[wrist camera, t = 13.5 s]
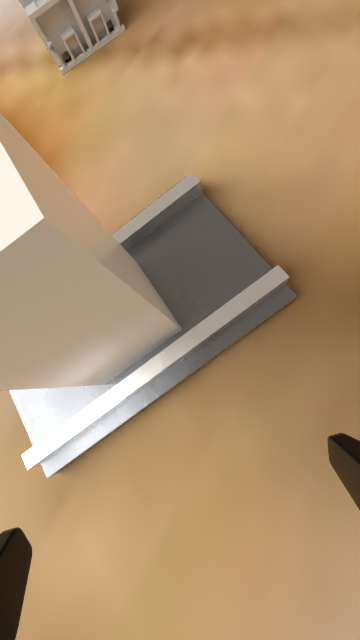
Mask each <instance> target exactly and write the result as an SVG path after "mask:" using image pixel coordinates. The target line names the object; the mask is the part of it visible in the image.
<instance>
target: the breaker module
mask: <svg viewBox="0 0 360 640" xmlns="http://www.w3.org/2000/svg"><path fill="white" fill-rule="evenodd" d="M181 330H182V328H181V327H180V325H179V324H178V322H177V321H176V319H175V318H174V316H173V315H172V313H171V312H170V311H169V309H168V308H167V306H166V305H165V303H164V302H163V300H162V299H161V297H160V296H159V294H158V293H157V291H156V290H155V288H154V287H153V285H152V284H151V282H150V281H149V279H148V278H147V277H146V275H145V274H144V272H143V271H142V269H141V268H140V266H139V265H138V263H137V262H136V261H135V260H134V259H133V258H132V257H131V256H130V255H129V253H128V252H127V251H126V250H125V249H124V248H123V247H122V246H121V245H120V244H119V242H118V241H117V240H116V239H115V238H114V237H113V236H112V235H111V234H110V233H109V231H108V230H107V229H106V228H105V227H104V226H103V225H102V224H101V223H100V222H99V220H98V219H97V218H96V217H95V216H94V215H93V214H92V213H91V212H90V211H89V210H88V208H87V207H86V206H85V205H84V204H83V203H82V202H81V201H80V200H79V199H78V197H77V196H76V195H75V194H74V193H73V192H72V191H71V190H70V189H69V188H68V186H67V185H66V184H65V183H64V182H63V181H62V180H61V179H60V178H59V177H58V175H57V174H56V173H55V172H54V171H53V170H52V169H51V168H50V167H49V166H48V165H47V163H46V162H45V161H44V160H43V159H42V158H41V157H40V156H39V155H38V154H37V152H36V151H35V150H34V149H33V148H32V147H31V146H30V145H29V144H28V143H27V141H26V140H25V139H24V138H23V137H22V136H21V135H20V134H19V133H18V132H17V130H16V129H15V128H14V127H13V126H12V125H11V124H10V123H9V122H8V121H7V120H6V118H5V117H4V116H3V115H2V114H1V113H0V391H4V390H22V389H40V388H58V387H76V386H94V385H105V384H106V383H108V382H109V381H110V380H112V379H113V378H115V377H116V376H118V375H119V374H120V373H122V372H123V371H125V370H126V369H127V368H129V367H130V366H132V365H133V364H134V363H136V362H137V361H139V360H140V359H142V358H143V357H144V356H146V355H147V354H149V353H150V352H151V351H153V350H154V349H156V348H157V347H159V346H160V345H161V344H163V343H164V342H166V341H167V340H168V339H170V338H171V337H173V336H174V335H175V334H177V333H178V332H180V331H181Z"/></svg>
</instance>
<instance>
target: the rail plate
mask: <svg viewBox="0 0 360 640" xmlns="http://www.w3.org/2000/svg"><path fill="white" fill-rule="evenodd" d="M112 236H113V237H114V238H115V239H116V240H117V241H118V242H119V244H120V245H121V246H122V247H123V248H124V249H125V250H126V251H127V252H128V253H129V255H130V256H131V257H132V258H133V259H134V260H135V261H136V262H137V263H138V265H139V266H140V268H141V269H142V271H143V272H144V274H145V275H146V277H147V278H148V279H149V281H150V282H151V284H152V285H153V287H154V288H155V290H156V291H157V293H158V294H159V296H160V297H161V299H162V300H163V302H164V303H165V305H166V306H167V308H168V309H169V311H170V312H171V313H172V315H173V316H174V318H175V319H176V321H177V322H178V324H179V325H180V327H181V328H182V330H181V331H180V332H178V333H177V334H175V335H174V336H173V337H171V338H170V339H168V340H167V341H166V342H164V343H163V344H161V345H160V346H159V347H157V348H156V349H154V350H153V351H151V352H150V353H149V354H147V355H146V356H144V357H143V358H142V359H140V360H139V361H137V362H136V363H134V364H133V365H132V366H130V367H129V368H127V369H126V370H125V371H123V372H122V373H120V374H119V375H118V376H116V377H115V378H113V379H112V380H110V381H109V382H108V383H106V384H105V385H94V386H76V387H58V388H40V389H22V390H9V392H10V394H11V396H12V399H13V401H14V403H15V405H16V408H17V410H18V412H19V415H20V417H21V419H22V422H23V424H24V426H25V428H26V431H27V433H28V435H29V438H30V440H31V442H32V445H33V447H32V448H30V449H29V450H28V451H26V452H25V453H24V454H22V455H21V456H22V458H23V461H24V463H25V466H26V468H27V470H28V469H31V468H33V467H35V466H38V465H40V464H41V465H42V468H43V470H44V472H45V475H46V477H47V478H49V477H50V476H52V475H54V474H56V473H58V472H59V471H61V470H62V469H63V468H65V467H66V466H67V465H69V464H70V463H72V462H73V461H74V460H76V459H77V458H78V457H80V456H81V455H83V454H84V453H85V452H87V451H88V450H89V449H91V448H92V447H93V446H95V445H96V444H98V443H99V442H100V441H102V440H103V439H104V438H106V437H107V436H109V435H110V434H111V433H113V432H114V431H115V430H117V429H118V428H120V427H121V426H122V425H124V424H125V423H126V422H128V421H129V420H130V419H132V418H133V417H135V416H136V415H137V414H139V413H140V412H141V411H143V410H144V409H146V408H147V407H148V406H150V405H151V404H152V403H154V402H155V401H157V400H158V399H159V398H161V397H162V396H163V395H165V394H166V393H167V392H169V391H170V390H172V389H173V388H174V387H176V386H177V385H178V384H180V383H181V382H183V381H184V380H185V379H187V378H188V377H189V376H191V375H192V374H194V373H195V372H196V371H198V370H199V369H200V368H202V367H203V366H205V365H206V364H207V363H209V362H210V361H211V360H213V359H214V358H215V357H217V356H218V355H220V354H221V353H222V352H224V351H225V350H226V349H228V348H229V347H231V346H232V345H233V344H235V343H236V342H237V341H239V340H240V339H242V338H243V337H244V336H246V335H247V334H248V333H250V332H251V331H252V330H254V329H255V328H257V327H258V326H259V325H261V324H262V323H263V322H265V321H266V320H268V319H269V318H270V317H272V316H273V315H274V314H276V313H277V312H279V311H280V310H281V309H283V308H284V307H285V306H287V305H288V304H289V303H291V302H292V301H294V300H295V298H296V297H297V295H296V294H295V293H294V292H293V290H292V289H291V288H290V287H289V286H288V285H287V284H286V283H287V281H288V279H289V276H288V275H287V274H286V272H285V271H284V270H283V269H282V268H281V267H280V266H279V265H277V266H276V267H274V268H273V269H272V268H271V266H270V265H269V264H268V263H267V262H266V261H265V260H264V259H263V258H262V257H261V256H260V255H259V253H258V252H257V251H256V250H255V249H254V248H253V247H252V246H251V245H250V244H249V243H248V241H247V240H246V239H245V238H244V237H243V236H242V235H241V234H240V233H239V232H238V231H237V229H236V228H235V227H234V226H233V225H232V224H231V223H230V222H229V221H228V220H227V219H226V217H225V216H224V215H223V214H222V213H221V212H220V211H219V210H218V209H217V208H216V207H215V205H214V204H213V203H212V202H211V201H210V200H209V199H208V198H207V197H206V196H205V195H204V193H203V191H202V187H201V182H200V180H199V179H198V178H197V177H196V176H195V175H194V174H193V173H190V174H189V175H188V176H186V177H185V178H184V179H182V180H181V181H180V182H179V183H177V184H176V185H175V186H173V187H172V188H171V189H170V190H168V191H167V192H166V193H165V194H163V195H162V196H161V197H159V198H158V199H157V200H156V201H154V202H153V203H152V204H150V205H149V206H148V207H147V208H145V209H144V210H143V211H142V212H140V213H139V214H138V215H136V216H135V217H134V218H133V219H131V220H130V221H129V222H127V223H126V224H125V225H124V226H122V227H121V228H120V229H119V230H117V231H116V232H115V233H113V234H112Z"/></svg>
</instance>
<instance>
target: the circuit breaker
mask: <svg viewBox="0 0 360 640" xmlns="http://www.w3.org/2000/svg"><path fill="white" fill-rule="evenodd" d="M19 1H20V3H21V4H22V6H23V8H24V9H25V11H26V13H27V15H28V16H29V18H30V20H31V21H32V23H33V25H34V26H35V28H36V30H37V32H38V33H39V35H40V37H41V38H42V40H43V42H44V43H45V45H46V47H47V49H48V50H49V52H50V54H51V55H52V57H53V59H54V60H55V62H56V64H57V65H58V67H60V66H61V65H62V67H61V68H59V69H60V71H61V72H62V74H63V75H64V74H65V73H66V72H68V71H69V70H71V69H72V68H73V67H75V66H76V65H78V64H79V63H80V62H82V61H83V60H85V59H86V58H88V57H89V56H90V55H92V54H93V53H95V52H96V51H97V50H99V49H100V48H102V47H103V46H104V45H106V44H107V43H109V42H110V41H112V40H113V39H114V38H116V37H117V36H119V35H120V34H121V33H123V32H124V31H126V29H125V26H124V25H123V23H122V24H121V25H120V20H119V18H118V15H117V12H116V11H118V10H119V8H118V5H117V2H116V0H19ZM112 27H113V29H114V30H113V31H112V32H111V33H109V29H110V28H112ZM94 43H95V44H94ZM87 48H88V49H87ZM70 57H71V59H72V60H71V61H70V62H68V63H66V62H65V60H67V59H68V58H70Z"/></svg>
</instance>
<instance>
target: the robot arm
mask: <svg viewBox="0 0 360 640" xmlns="http://www.w3.org/2000/svg"><path fill="white" fill-rule="evenodd" d="M328 452H329V460H330V463H331V465H332V467H333V468H334V470H335V472H336V473H337V475H338V476H339V478H340V480H341V481H342V483H343V484H344V486H345V487H346V489H347V491H348V492H349V494H350V495H351V497H352V499H353V500H354V502H355V503H356V505H357V507H358V508H359V510H360V441H359V440H357V439H354V438H352V437H350V436H348V435H346V434H343V433H338V434H335V435H331V436H329V437H328ZM31 559H32V547H31V544H30V543H29V541H28V539H27V538H26V536H25V534H24V533H23V531H22V530H21V529H20V528H18V527H16V528H13V529H9V530H6V531H4V532H2V533H1V534H0V640H15V638H16V634H17V630H18V626H19V621H20V616H21V611H22V606H23V600H24V595H25V590H26V585H27V580H28V574H29V569H30V564H31Z"/></svg>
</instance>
